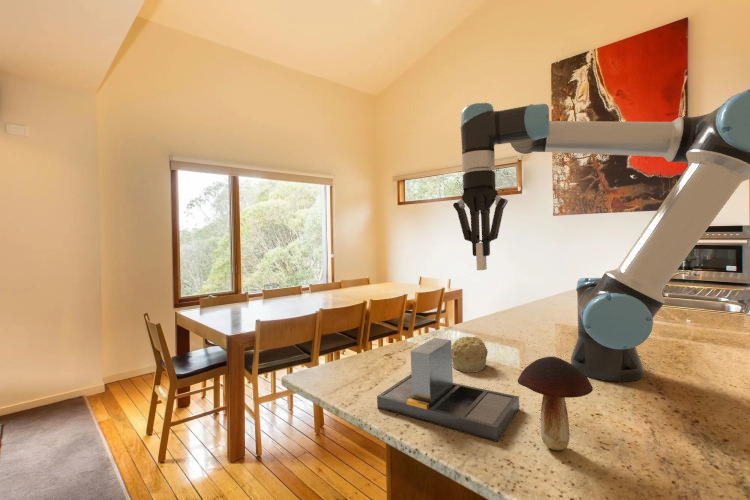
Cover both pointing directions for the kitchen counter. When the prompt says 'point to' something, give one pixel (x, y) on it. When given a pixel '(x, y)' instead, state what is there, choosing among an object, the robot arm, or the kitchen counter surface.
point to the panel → (432, 371)
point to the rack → (455, 408)
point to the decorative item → (469, 354)
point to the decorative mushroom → (555, 395)
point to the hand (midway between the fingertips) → (481, 269)
